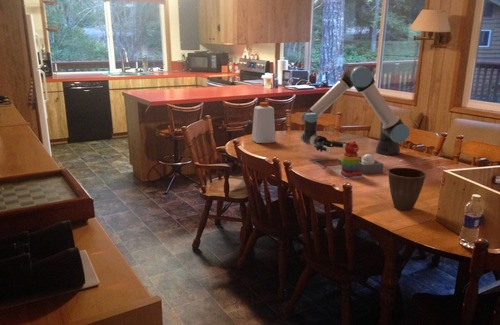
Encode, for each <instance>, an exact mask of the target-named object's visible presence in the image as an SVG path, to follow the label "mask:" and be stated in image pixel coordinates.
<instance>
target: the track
mask: <svg viewBox="0 0 500 325" xmlns="http://www.w3.org/2000/svg"><path fill="white" fill-rule="evenodd" d="M341 160H342V159H339V158H326V159H313V160H311V161H312V162H313V163H314V164H316V165H317V166H319V167H320V168H322V169H326V168H327V169H328V170H330V171H332V172H333V173H336V175H338V176H340V177H342V179H359V178H364V177H365V176H364V175H362V176H353V177H350V178H349V177H345V176H343V175H342V174H341V171H342V166H341V165H330V166H326V167H325V166H324V165H322V164H320V163H319V162H324V161H327V162H328V161H339V162H340V163H341Z"/></svg>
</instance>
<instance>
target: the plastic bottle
mask: <svg viewBox="0 0 500 325" xmlns="http://www.w3.org/2000/svg"><path fill="white" fill-rule="evenodd" d="M275 124H276V123H275V108H274V107H273V106H270V105H269V102H267V101H265V102H263V101H262V102H259V105H257V106H254V108H253V119H252V130H251V131H252V133H251V139H252V141H253V142H254V143H257V144H260V143H262V144H272V143H275V142H276V127H275Z"/></svg>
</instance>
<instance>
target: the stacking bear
mask: <svg viewBox="0 0 500 325" xmlns="http://www.w3.org/2000/svg"><path fill="white" fill-rule="evenodd" d="M346 143H347V144H346V145H345V149H344V150H345V151H344V152H343V154H342V157H341V159H340V160H341V162H340V164H341V165H340V166H342V171H341V174H342V175H343V176H345V177H349V179H351V178H350V177H353V176H363V174H362V172H360V171H358V166H359V157H358V156H359V154H358V153H357V152H358V151H359V148H360V147H359V145H358V144H357V142H356V141H349V142H346Z"/></svg>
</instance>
